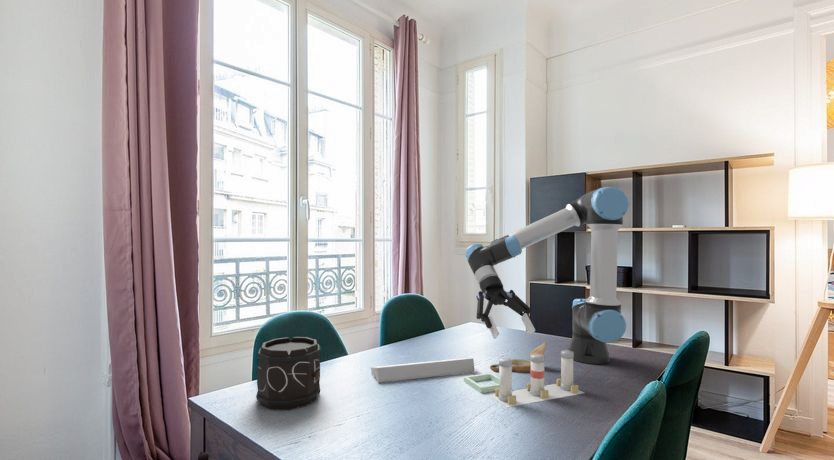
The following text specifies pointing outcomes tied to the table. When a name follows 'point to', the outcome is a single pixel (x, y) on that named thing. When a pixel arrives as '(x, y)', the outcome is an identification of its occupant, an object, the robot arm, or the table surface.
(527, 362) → the oil lamp
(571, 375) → the fuse
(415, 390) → the table surface
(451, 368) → the decorative molding
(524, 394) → the fuse block
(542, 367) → the marked fuse
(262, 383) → the coffee canister
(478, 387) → the tray
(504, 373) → the cylinder
